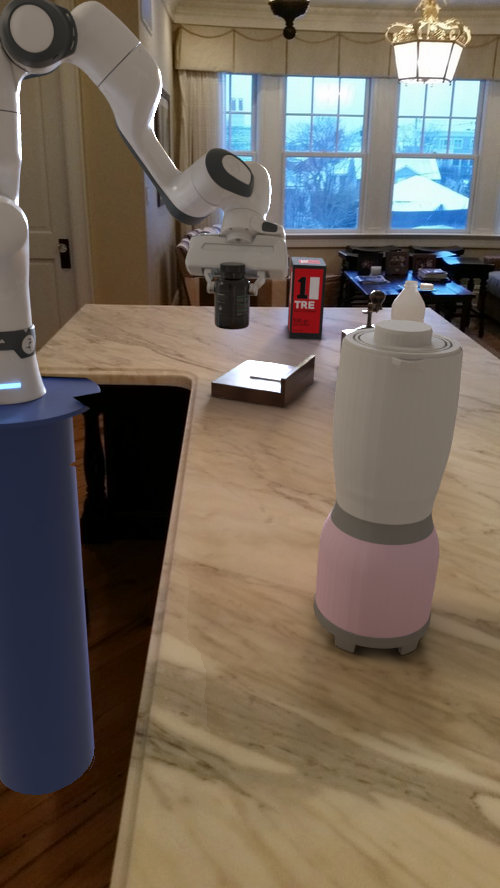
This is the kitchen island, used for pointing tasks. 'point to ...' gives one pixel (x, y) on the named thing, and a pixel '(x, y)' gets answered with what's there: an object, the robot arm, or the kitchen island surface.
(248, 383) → the shelf
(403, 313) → the water bottle
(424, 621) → the blender
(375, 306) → the coffee grinder
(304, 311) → the cleaning product box
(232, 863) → the kitchen island surface
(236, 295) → the supplement bottle
